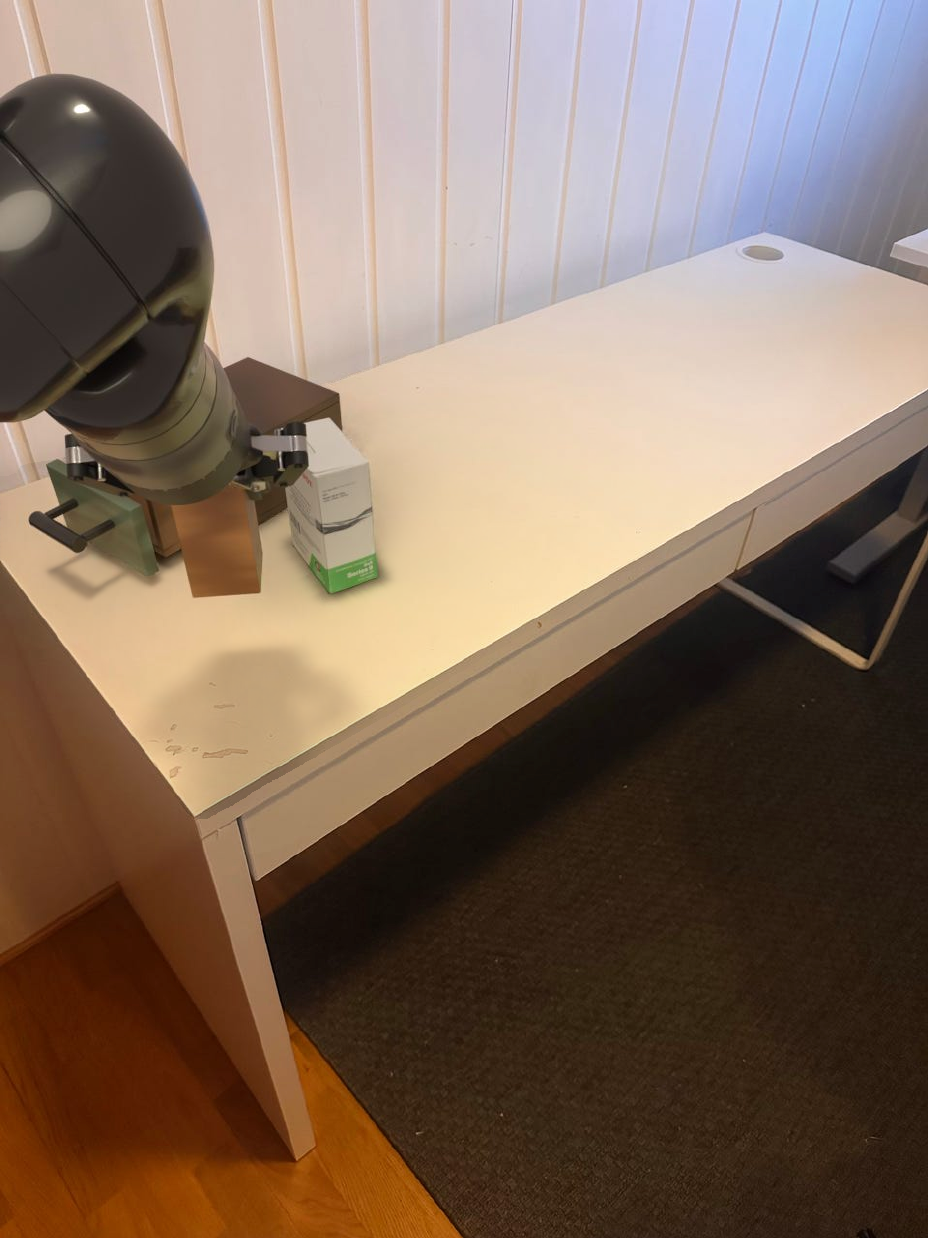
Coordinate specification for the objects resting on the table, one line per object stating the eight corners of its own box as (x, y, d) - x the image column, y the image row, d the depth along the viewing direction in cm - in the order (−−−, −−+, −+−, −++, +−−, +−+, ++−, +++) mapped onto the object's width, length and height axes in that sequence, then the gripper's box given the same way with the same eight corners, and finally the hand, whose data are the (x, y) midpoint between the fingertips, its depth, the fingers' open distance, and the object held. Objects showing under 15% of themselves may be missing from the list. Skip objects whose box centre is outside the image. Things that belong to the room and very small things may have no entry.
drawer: (106, 603, 73) (84, 535, 69) (25, 551, 78) (0, 485, 74) (265, 506, 84) (255, 443, 79) (185, 466, 89) (171, 404, 84)
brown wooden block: (192, 598, 61) (163, 472, 55) (198, 557, 65) (171, 435, 58) (260, 593, 62) (239, 468, 55) (262, 553, 65) (243, 431, 59)
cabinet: (237, 538, 81) (221, 456, 76) (148, 491, 87) (127, 411, 81) (346, 471, 90) (339, 392, 85) (259, 432, 96) (247, 356, 90)
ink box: (381, 579, 77) (373, 460, 69) (327, 596, 75) (314, 477, 68) (340, 527, 83) (329, 412, 75) (290, 543, 81) (273, 427, 73)
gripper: (301, 332, 45) (318, 427, 62) (1, 343, 43) (103, 438, 60) (312, 480, 44) (326, 535, 61) (9, 497, 43) (110, 549, 60)
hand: (216, 487), depth 60 cm, fingers closed on brown wooden block, 4 cm apart
